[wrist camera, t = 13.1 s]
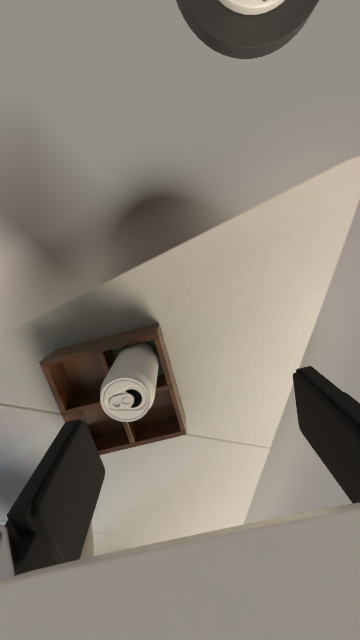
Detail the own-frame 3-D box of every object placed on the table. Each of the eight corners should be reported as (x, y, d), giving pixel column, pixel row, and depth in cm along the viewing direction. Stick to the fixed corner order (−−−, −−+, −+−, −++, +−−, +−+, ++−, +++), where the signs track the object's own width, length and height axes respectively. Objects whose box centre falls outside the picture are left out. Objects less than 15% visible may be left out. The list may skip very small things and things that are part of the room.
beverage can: (164, 370, 39) (161, 417, 28) (126, 380, 40) (107, 431, 28) (153, 334, 38) (144, 368, 26) (113, 345, 38) (88, 383, 26)
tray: (54, 349, 39) (38, 362, 34) (159, 323, 38) (157, 332, 34) (90, 437, 43) (81, 459, 39) (185, 415, 43) (186, 434, 38)
